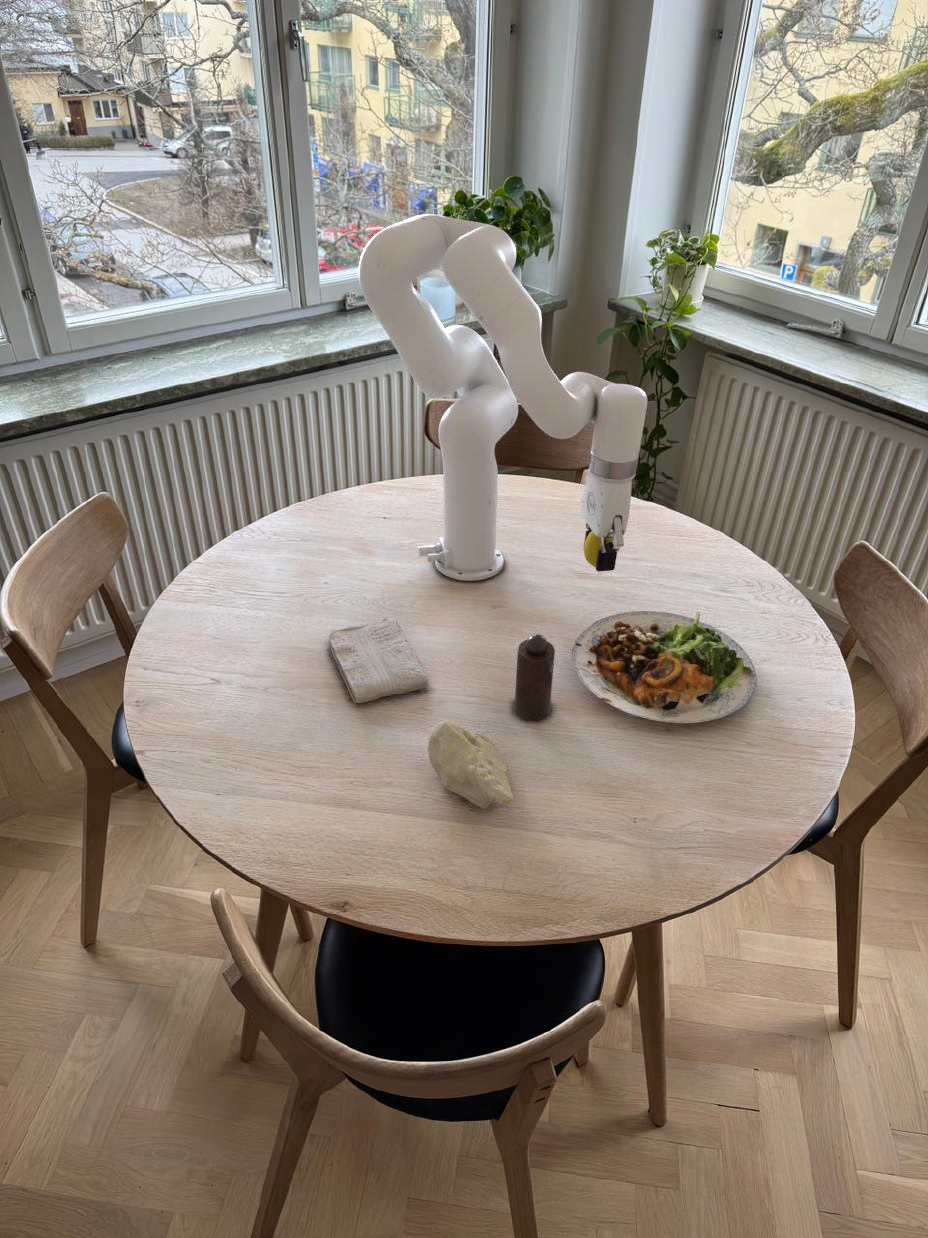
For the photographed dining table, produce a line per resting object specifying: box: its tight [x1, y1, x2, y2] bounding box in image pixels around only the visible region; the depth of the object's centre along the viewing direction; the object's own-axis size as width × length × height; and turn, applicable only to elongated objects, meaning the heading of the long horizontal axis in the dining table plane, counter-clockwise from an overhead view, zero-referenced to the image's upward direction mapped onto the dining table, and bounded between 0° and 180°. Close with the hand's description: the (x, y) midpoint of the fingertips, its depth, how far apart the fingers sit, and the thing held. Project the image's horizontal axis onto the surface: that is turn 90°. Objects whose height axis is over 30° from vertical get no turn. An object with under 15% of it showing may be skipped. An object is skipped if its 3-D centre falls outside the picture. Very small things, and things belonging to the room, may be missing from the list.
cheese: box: [427, 719, 515, 810], centre depth 117 cm, size 15×7×15 cm
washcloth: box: [328, 618, 430, 704], centre depth 140 cm, size 12×18×3 cm, turn 22°
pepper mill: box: [514, 633, 556, 722], centre depth 129 cm, size 5×5×13 cm
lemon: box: [583, 530, 613, 568], centre depth 153 cm, size 6×6×8 cm
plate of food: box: [571, 610, 758, 724], centre depth 138 cm, size 28×28×6 cm
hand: (598, 559), depth 154 cm, fingers closed on lemon, 5 cm apart
